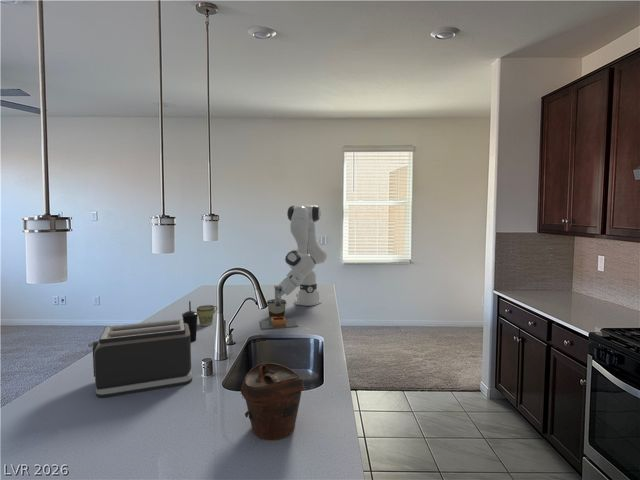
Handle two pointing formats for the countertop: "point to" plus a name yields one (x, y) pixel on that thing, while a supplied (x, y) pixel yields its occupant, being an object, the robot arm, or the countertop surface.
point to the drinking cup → (191, 322)
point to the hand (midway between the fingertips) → (276, 296)
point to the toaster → (142, 357)
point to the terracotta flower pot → (272, 399)
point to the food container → (276, 308)
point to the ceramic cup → (206, 314)
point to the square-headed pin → (277, 291)
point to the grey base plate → (278, 323)
